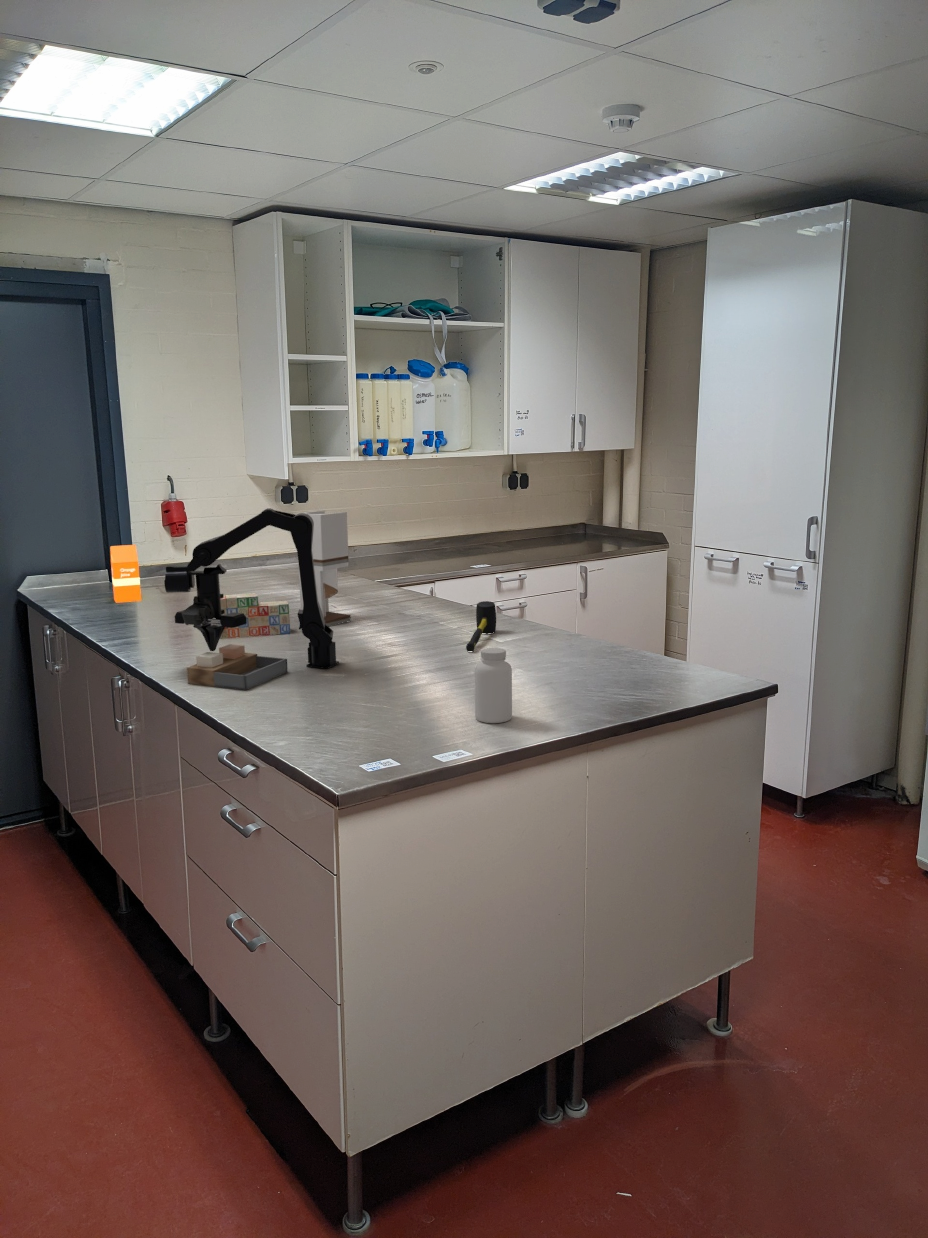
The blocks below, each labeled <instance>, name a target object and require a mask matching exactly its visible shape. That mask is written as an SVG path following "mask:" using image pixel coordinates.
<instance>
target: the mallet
mask: <svg viewBox="0 0 928 1238" xmlns="http://www.w3.org/2000/svg"><path fill="white" fill-rule="evenodd" d="M475 611H476V612H475V613H476V614H475V616H476V617H475V618H476V630H475V631H474V632H473V633H472V634H473V635H472V636H471V638H470V640H469V642H468V643H467V644H466V646H465V650H466V651H467V652H468V651H473V652H474V651H475V649H476V646H477V644H478V643H479V640H480V639H481V636H482V635H483V634H482V633H493V632H494V633H496V632H497V610H496V604H495V602H493V601H488V600H487V601H486V600H485V601H478V602H477V603H476V609H475ZM494 633H493V634H494Z"/></svg>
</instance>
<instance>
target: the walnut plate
mask: <svg viewBox="0 0 928 1238" xmlns="http://www.w3.org/2000/svg"><path fill="white" fill-rule="evenodd" d="M256 656H258V653H254V652H245V655H244V656H241V657H239V658H236V659H228V658H223V664H220V665H217V666H215V667H212V668H211V667H202V666H197V663H196V664H193V665H190V666H187V667H186V676H187V684H191V685H197V686H207V687H214V688H215V685H214V672H219V673H228V674H237V675H240V674H242V673H245V672H247V671H249V670H252V669H254V668H257V664H256Z"/></svg>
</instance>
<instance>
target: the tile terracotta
mask: <svg viewBox="0 0 928 1238" xmlns="http://www.w3.org/2000/svg"><path fill="white" fill-rule="evenodd" d="M218 653H222V654H223V658H228V659H236V658H239V657H241V656H244V655H245V653H246V651H245V645H240V644H231V643H229V644H226V645H225V646H224V645H223V646H221V647H219V648H218Z"/></svg>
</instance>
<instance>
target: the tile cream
mask: <svg viewBox="0 0 928 1238" xmlns="http://www.w3.org/2000/svg"><path fill="white" fill-rule="evenodd" d="M195 658H196V661H195V662H196V664H197V666H202V667H211V668H212V667H215V666H217V665H220V664H223V654H222V653H219V652H213V651H206V652H204V653H200V654H199V655H196V657H195Z"/></svg>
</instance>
